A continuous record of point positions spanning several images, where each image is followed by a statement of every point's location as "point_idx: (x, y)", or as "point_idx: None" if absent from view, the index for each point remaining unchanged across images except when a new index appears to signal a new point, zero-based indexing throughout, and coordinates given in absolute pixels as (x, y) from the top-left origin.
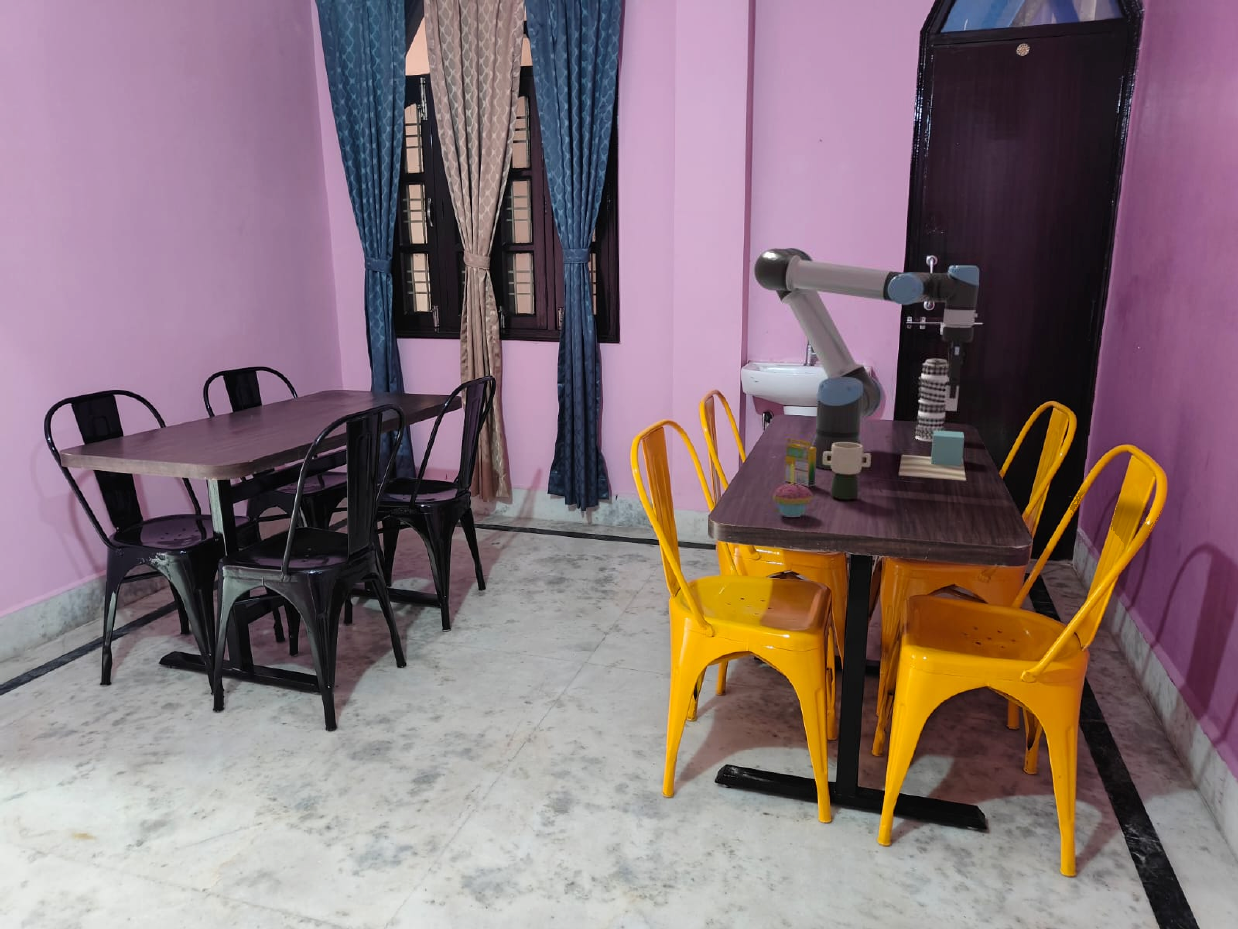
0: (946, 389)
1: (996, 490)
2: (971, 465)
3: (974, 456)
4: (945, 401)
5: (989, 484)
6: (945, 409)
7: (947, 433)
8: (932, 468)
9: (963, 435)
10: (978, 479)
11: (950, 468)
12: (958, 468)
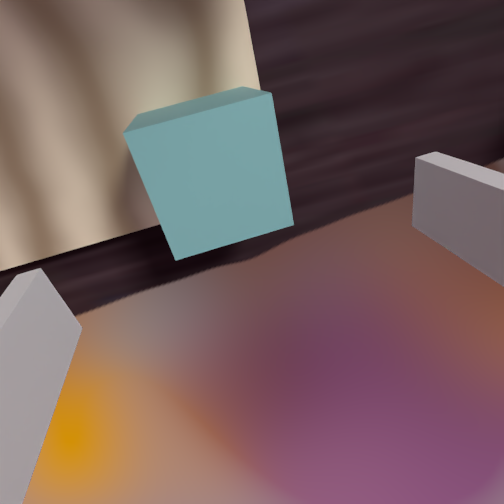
0: (501, 194)
1: None
2: None
3: (395, 184)
4: (417, 163)
5: (82, 301)
6: (13, 279)
7: (227, 177)
8: (68, 138)
9: (223, 244)
10: (117, 267)
11: (119, 192)
12: (138, 212)
